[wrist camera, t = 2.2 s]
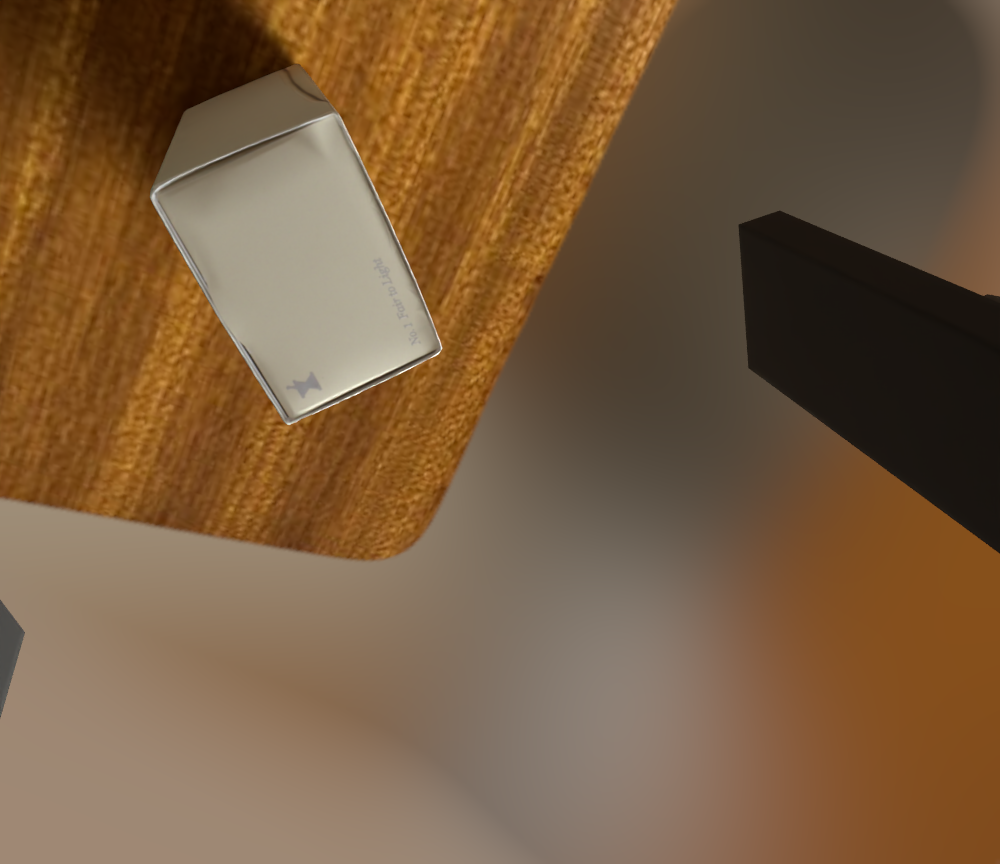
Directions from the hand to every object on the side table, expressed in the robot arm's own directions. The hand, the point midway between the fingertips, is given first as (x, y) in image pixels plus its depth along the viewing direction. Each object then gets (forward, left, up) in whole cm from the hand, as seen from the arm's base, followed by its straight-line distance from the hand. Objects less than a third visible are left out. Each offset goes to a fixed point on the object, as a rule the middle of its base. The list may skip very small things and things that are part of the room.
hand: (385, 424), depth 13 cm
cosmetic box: (0, 0, -19) cm, 19 cm away
